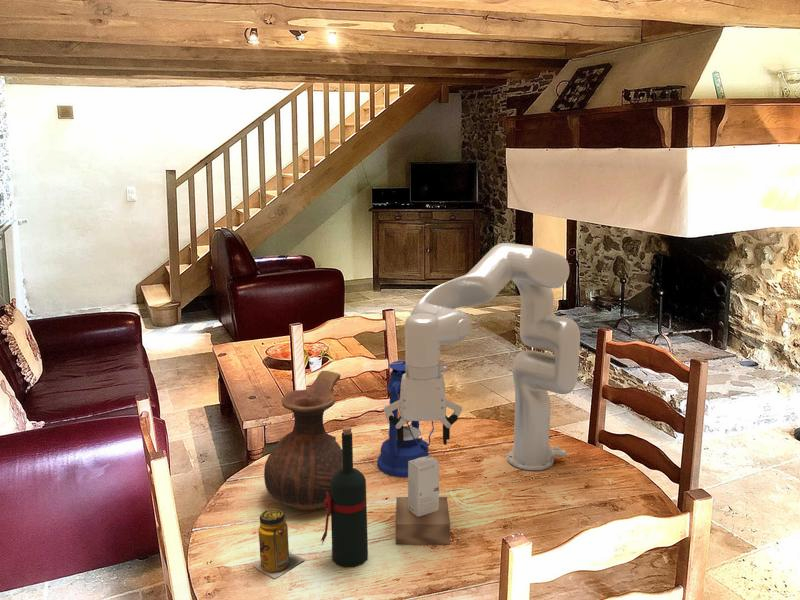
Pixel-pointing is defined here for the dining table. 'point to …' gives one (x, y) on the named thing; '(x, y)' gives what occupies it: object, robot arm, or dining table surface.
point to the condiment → (275, 544)
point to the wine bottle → (347, 510)
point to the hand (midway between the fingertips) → (423, 442)
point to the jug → (305, 449)
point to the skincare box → (423, 485)
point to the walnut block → (422, 524)
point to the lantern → (392, 452)
